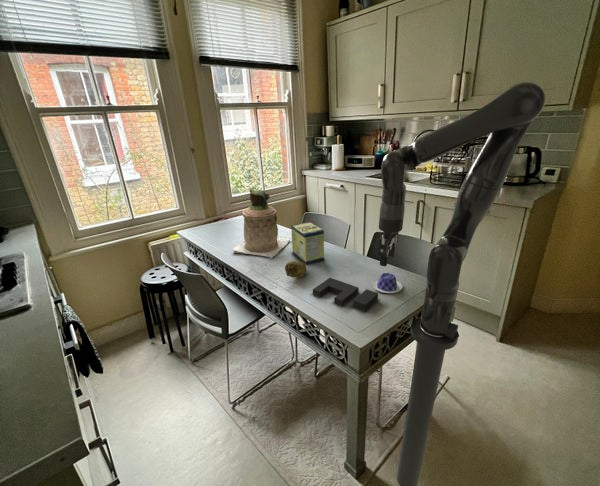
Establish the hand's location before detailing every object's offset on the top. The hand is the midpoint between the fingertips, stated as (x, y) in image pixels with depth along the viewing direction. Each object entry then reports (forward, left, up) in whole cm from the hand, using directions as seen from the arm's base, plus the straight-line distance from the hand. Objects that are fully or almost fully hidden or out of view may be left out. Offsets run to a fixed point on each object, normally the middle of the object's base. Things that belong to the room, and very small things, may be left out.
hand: (387, 260), depth 108 cm
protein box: (+51, -20, -20) cm, 58 cm away
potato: (+42, -1, -20) cm, 46 cm away
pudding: (+6, -16, -20) cm, 26 cm away
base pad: (+20, +1, -20) cm, 28 cm away
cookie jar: (+79, -15, -20) cm, 82 cm away
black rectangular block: (+7, 0, -20) cm, 21 cm away
